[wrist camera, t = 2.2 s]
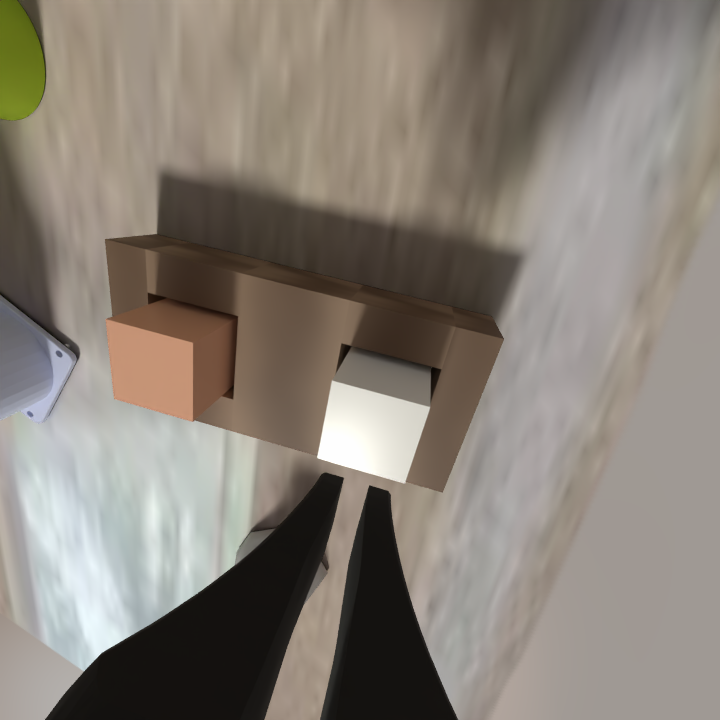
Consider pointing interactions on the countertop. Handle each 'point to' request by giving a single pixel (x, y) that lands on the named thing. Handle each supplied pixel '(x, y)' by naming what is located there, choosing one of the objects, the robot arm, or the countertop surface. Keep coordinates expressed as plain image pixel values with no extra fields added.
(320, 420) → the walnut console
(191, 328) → the salmon pink cube
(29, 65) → the soap dispenser
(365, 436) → the white cube
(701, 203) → the countertop surface
